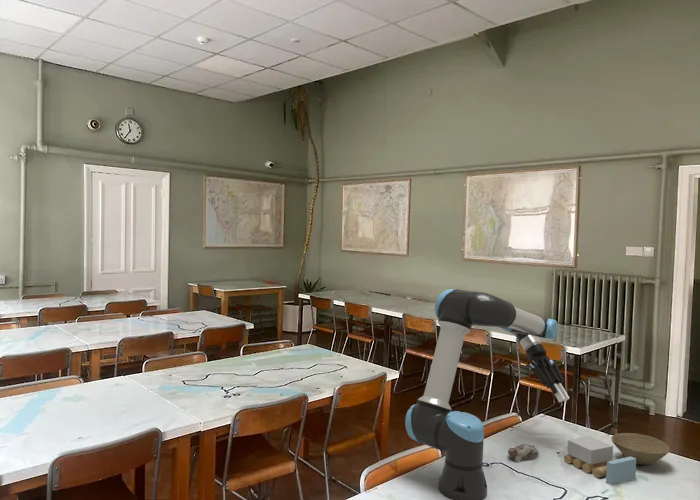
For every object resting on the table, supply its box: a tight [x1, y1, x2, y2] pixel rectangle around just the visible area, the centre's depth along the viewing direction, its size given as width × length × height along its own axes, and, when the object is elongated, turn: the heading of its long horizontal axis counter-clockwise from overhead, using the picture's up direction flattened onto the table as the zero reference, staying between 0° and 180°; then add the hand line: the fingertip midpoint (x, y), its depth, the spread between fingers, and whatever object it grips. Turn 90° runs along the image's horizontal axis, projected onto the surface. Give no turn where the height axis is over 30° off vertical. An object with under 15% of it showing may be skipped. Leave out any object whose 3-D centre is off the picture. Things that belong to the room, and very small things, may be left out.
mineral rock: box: [507, 443, 540, 463], centre depth 190 cm, size 15×8×4 cm, turn 111°
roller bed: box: [563, 454, 613, 478], centre depth 183 cm, size 12×15×3 cm
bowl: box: [611, 432, 671, 466], centre depth 188 cm, size 18×18×8 cm
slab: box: [566, 435, 614, 465], centre depth 184 cm, size 11×10×5 cm
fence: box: [605, 456, 637, 486], centre depth 173 cm, size 12×2×7 cm, turn 115°
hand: (564, 400), depth 195 cm, fingers open, 2 cm apart
